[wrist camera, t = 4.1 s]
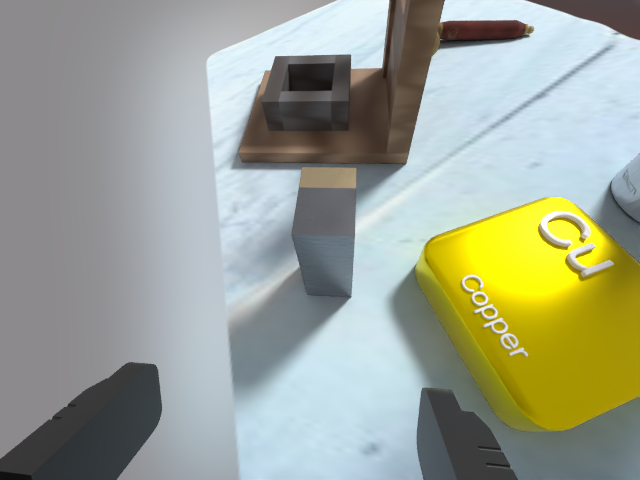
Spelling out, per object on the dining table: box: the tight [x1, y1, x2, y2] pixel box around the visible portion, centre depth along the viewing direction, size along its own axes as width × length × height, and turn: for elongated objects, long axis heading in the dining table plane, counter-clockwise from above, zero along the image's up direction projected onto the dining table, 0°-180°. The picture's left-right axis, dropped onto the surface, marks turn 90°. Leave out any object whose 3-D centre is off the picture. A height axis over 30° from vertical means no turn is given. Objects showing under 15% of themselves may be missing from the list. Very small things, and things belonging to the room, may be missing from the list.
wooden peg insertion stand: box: [239, 0, 445, 164], centre depth 34 cm, size 20×18×18 cm
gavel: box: [432, 20, 534, 56], centre depth 49 cm, size 21×5×10 cm
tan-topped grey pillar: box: [292, 167, 356, 297], centre depth 25 cm, size 4×6×10 cm, turn 175°
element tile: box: [415, 197, 640, 432], centre depth 24 cm, size 15×15×5 cm
